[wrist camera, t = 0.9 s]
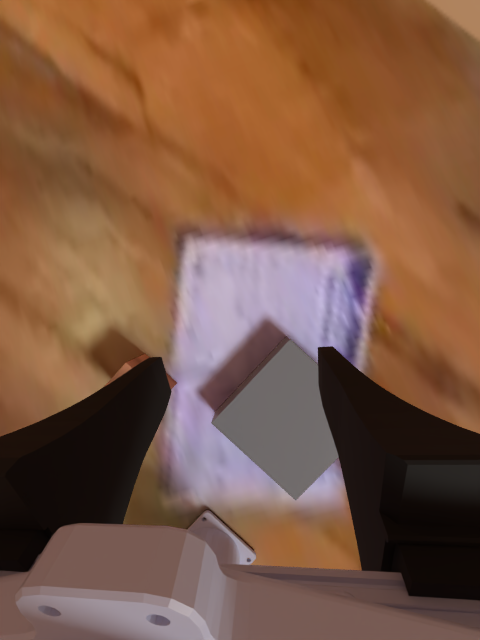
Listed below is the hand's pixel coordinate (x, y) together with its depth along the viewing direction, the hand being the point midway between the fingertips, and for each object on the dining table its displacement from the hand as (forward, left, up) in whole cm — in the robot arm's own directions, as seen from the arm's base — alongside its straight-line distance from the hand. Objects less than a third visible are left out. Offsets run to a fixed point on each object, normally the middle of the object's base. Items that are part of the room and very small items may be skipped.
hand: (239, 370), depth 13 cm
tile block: (-3, -10, -19) cm, 21 cm away
